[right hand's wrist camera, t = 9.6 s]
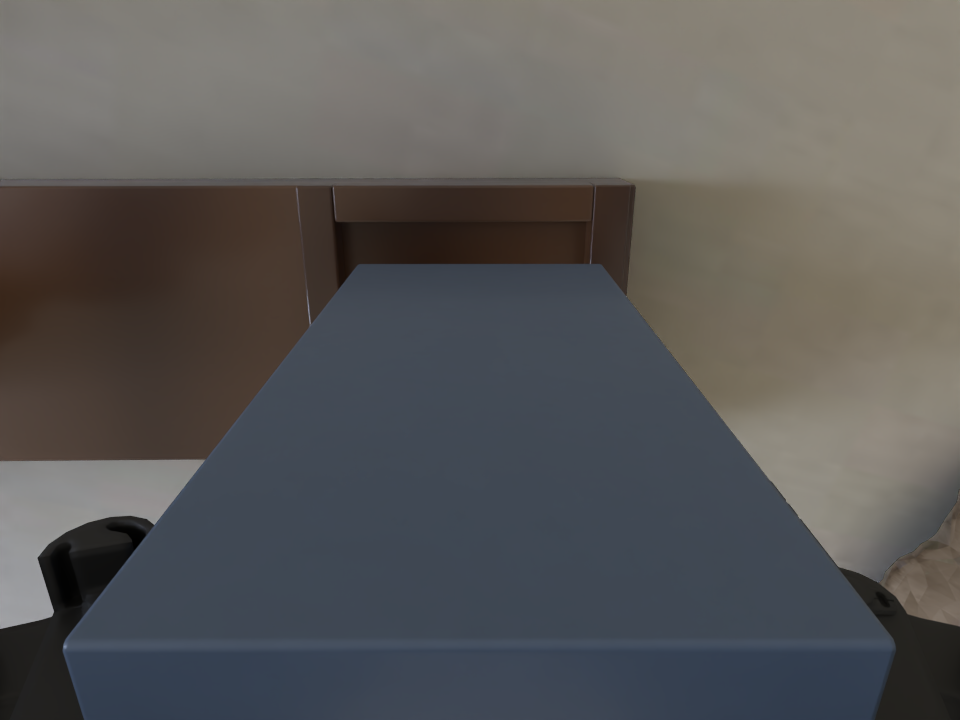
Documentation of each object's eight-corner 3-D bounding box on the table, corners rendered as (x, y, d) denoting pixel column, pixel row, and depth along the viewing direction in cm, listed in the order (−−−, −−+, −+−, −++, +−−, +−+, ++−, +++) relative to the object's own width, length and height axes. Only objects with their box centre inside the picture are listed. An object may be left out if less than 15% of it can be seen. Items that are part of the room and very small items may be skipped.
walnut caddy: (621, 174, 20) (749, 229, 11) (601, 432, 24) (687, 640, 14) (-274, 176, 20) (-921, 235, 11) (-165, 437, 23) (-585, 656, 14)
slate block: (601, 263, 16) (902, 644, 5) (587, 474, 18) (764, 1083, 7) (357, 263, 16) (54, 645, 5) (372, 475, 18) (194, 1083, 7)
